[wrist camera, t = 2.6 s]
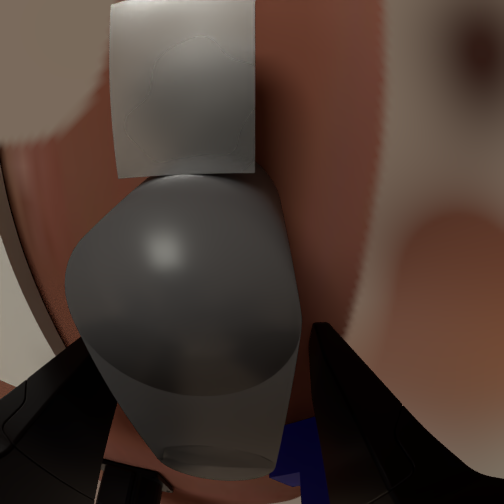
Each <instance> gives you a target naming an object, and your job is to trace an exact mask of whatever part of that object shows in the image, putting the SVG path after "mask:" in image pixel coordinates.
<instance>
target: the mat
mask: <svg viewBox="0 0 504 504" xmlns="http://www.w3.org/2000/svg"><path fill="white" fill-rule="evenodd" d="M65 348H66V347H65V345H64V344H63V342H62V340H61V338H60V336H59V334H58V332H57V330H56V328H55V326H54V324H53V322H52V320H51V318H50V316H49V314H48V312H47V310H46V308H45V305H44V303H43V301H42V299H41V296H40V294H39V292H38V289H37V287H36V285H35V282H34V280H33V277H32V275H31V272H30V270H29V267H28V264H27V262H26V259H25V256H24V253H23V250H22V247H21V244H20V241H19V238H18V235H17V232H16V228H15V225H14V222H13V218H12V214H11V211H10V207H9V203H8V199H7V195H6V190H5V186H4V181H3V176H2V171H1V165H0V380H2V381H4V382H6V383H8V384H11V385H13V386H16V387H17V386H18V385H20V384H21V383H22V382H23V381H25V380H27V378H28V377H30V376H31V375H32V374H33V373H35V372H36V371H37V370H39V369H40V368H41V367H42V366H44V365H45V364H46V363H47V362H49V361H50V360H51V359H53V358H54V357H55V356H56V355H58V354H59V353H60V352H62V351H63V350H64V349H65Z"/></svg>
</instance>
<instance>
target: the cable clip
mask: <svg viewBox="0 0 504 504" xmlns="http://www.w3.org/2000/svg"><path fill="white" fill-rule="evenodd" d="M269 478H272V479H274V480H276V481H279V482H281V483H284V484H287V485H289V486H292V487H295V486H300V487H301V503H302V504H330V501H329V495H328V488H327V482H326V476H325V470H324V464H323V458H322V452H321V446H320V440H319V435H318V429H317V424H316V418H315V417H312V418H308V419H305V420H302V421H298V422H295V423H291V424H287V425H284V430H283V435H282V440H281V444H280V449H279V453H278V458H277V462H276V466H275V469H274V471H273V472H271V473H270V474H269Z"/></svg>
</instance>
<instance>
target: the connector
mask: <svg viewBox="0 0 504 504" xmlns="http://www.w3.org/2000/svg"><path fill="white" fill-rule="evenodd" d="M109 75H110V100H111V116H112V128H113V139H114V148H115V157H116V165H117V173H118V179H120V178H132V177H146V176H150V177H148V178H147V179H146V180H145V181H144V182H142V183H141V184H140V185H139V186H138V187H137V188H135V189H134V190H133V191H132V192H131V193H130V194H129V195H127V196H126V197H125V198H124V199H123V200H122V201H121V202H120V203H119V204H117V205H116V206H115V207H114V208H113V209H112V210H111V211H110V212H109V213H108V214H107V215H106V216H104V217H103V218H102V219H101V220H100V221H99V222H98V223H97V224H96V225H95V226H94V227H93V228H92V229H91V230H90V231H89V232H88V233H87V234H86V235H85V236H84V237H83V238H82V239H81V240H80V241H79V243H78V244H77V246H76V247H75V249H74V250H73V252H72V254H71V257H70V259H69V261H68V265H67V269H66V274H65V293H66V299H67V303H68V307H69V310H70V313H71V315H72V318H73V320H74V323H75V325H76V327H77V329H78V331H79V333H80V335H81V337H82V339H83V341H84V343H85V345H86V347H87V349H88V351H89V353H90V355H91V357H92V359H93V361H94V363H95V364H96V366H97V368H98V370H99V372H100V373H101V375H102V377H103V379H104V380H105V382H106V384H107V386H108V387H109V389H110V391H111V392H112V394H113V395H114V397H115V399H116V400H117V402H118V403H119V405H120V407H121V408H122V410H123V411H124V413H125V414H126V416H127V417H128V419H129V420H130V422H131V423H132V424H133V426H134V427H135V429H136V430H137V432H138V433H139V434H140V436H141V437H142V439H143V440H144V441H145V443H146V444H147V445H148V447H149V448H150V449H151V450H152V452H153V453H154V454H155V456H156V457H157V458H158V459H159V460H160V461H161V462H162V463H163V464H165V465H166V466H168V467H170V468H172V469H174V470H176V471H179V472H182V473H185V474H188V475H191V476H196V477H200V478H206V479H213V480H227V481H235V480H248V479H255V478H259V477H263V476H265V475H268V474H270V473H271V472H273V471H274V469H275V466H276V462H277V458H278V453H279V449H280V444H281V440H282V435H283V430H284V425H285V420H286V415H287V410H288V405H289V400H290V395H291V389H292V384H293V378H294V372H295V367H296V361H297V355H298V349H299V342H300V336H301V326H302V316H301V308H300V302H299V296H298V290H297V285H296V279H295V274H294V268H293V263H292V258H291V252H290V247H289V242H288V237H287V231H286V226H285V221H284V216H283V211H282V207H281V202H280V197H279V194H278V191H277V189H276V187H275V185H274V183H273V181H272V179H271V178H270V177H269V175H268V174H267V173H266V171H265V170H264V169H263V168H262V167H261V166H260V165H259V164H257V163H256V162H255V0H127V1H123V2H119V3H116V4H112V5H111V13H110V36H109Z"/></svg>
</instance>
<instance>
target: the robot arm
mask: <svg viewBox="0 0 504 504" xmlns="http://www.w3.org/2000/svg"><path fill="white" fill-rule="evenodd" d="M309 363H310V378H311V393H312V401H313V407H314V413H315V418H316V424H317V429H318V435H319V440H320V446H321V452H322V458H323V464H324V470H325V476H326V482H327V488H328V495H329V501H330V504H504V479H502V478H496V477H491V476H486V475H483V474H480V473H478V472H476V471H474V470H473V469H471V468H470V467H468V466H467V465H466V464H465V463H463V462H462V461H461V460H460V459H459V458H458V457H457V456H455V455H454V454H453V453H452V452H451V451H450V450H448V449H447V448H446V447H445V446H444V445H443V444H441V443H440V442H439V441H438V440H437V439H436V438H435V437H433V435H432V434H430V433H429V432H428V431H427V430H426V429H425V428H424V427H423V426H422V425H421V424H420V423H419V422H418V421H417V420H416V419H415V418H414V416H412V414H411V413H410V412H409V411H408V410H407V409H406V408H405V407H404V406H402V403H400V401H399V400H398V399H397V398H396V397H395V396H394V395H393V393H391V391H390V390H389V389H388V388H387V387H386V386H385V385H384V383H383V382H382V381H381V380H380V379H379V378H378V377H377V376H376V375H375V374H374V372H373V371H372V370H371V369H370V368H369V367H368V366H367V365H366V364H365V362H364V361H363V360H362V359H361V358H360V357H359V356H358V355H357V354H356V353H355V352H354V350H352V348H351V347H350V346H349V345H348V344H347V343H346V342H345V341H344V339H343V338H342V337H341V336H340V335H339V334H338V333H337V332H336V331H335V330H334V329H333V327H332V326H331V325H330V324H329V323H327V322H316V323H314V324H313V325H312V329H311V335H310V340H309ZM116 406H117V400H116V399H115V397H114V395H113V394H112V392H111V391H110V389H109V387H108V386H107V384H106V382H105V380H104V379H103V377H102V375H101V373H100V372H99V370H98V368H97V366H96V364H95V363H94V361H93V359H92V357H91V355H90V353H89V351H88V349H87V347H86V345H85V343H84V341H83V339H82V337H80V338H79V339H77V340H76V341H75V342H73V343H72V344H71V345H69V346H68V347H67V348H65V349H64V350H63V351H62V352H60V353H59V354H58V355H56V356H55V357H54V358H53V359H51V360H50V361H49V362H47V363H46V364H45V365H44V366H42V367H41V368H40V369H39V370H37V371H36V372H35V373H33V374H32V375H31V376H30V377H28V378H27V380H25V381H23V382H22V383H21V384H20V385H18V386H17V387H16V388H15V389H13V390H12V391H11V392H9V393H8V394H7V395H5V396H4V397H3V398H1V399H0V504H94V499H95V494H96V489H97V484H98V479H99V475H100V470H103V471H104V472H103V476H102V480H101V483H100V488H99V492H98V496H97V500H96V504H160V500H161V494H162V491H165V492H171V493H172V492H173V488H172V487H171V486H170V485H169V484H168V483H167V482H166V481H165V480H164V479H163V478H162V477H161V476H160V475H159V474H158V473H155V472H151V471H146V470H141V469H137V468H132V467H128V466H124V465H120V464H116V463H112V462H109V461H105V460H103V456H104V452H105V448H106V444H107V440H108V436H109V432H110V428H111V424H112V420H113V416H114V413H115V409H116Z"/></svg>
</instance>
